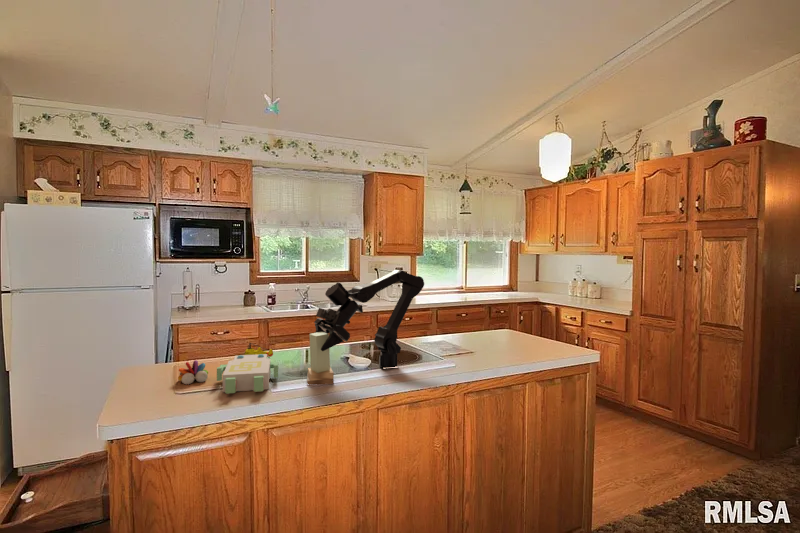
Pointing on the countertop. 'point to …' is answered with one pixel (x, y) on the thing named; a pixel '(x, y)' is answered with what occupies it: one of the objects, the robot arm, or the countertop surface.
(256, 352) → the toy helicopter
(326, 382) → the lower slab
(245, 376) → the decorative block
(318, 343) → the pillar
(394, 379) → the countertop surface
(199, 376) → the rainbow peg wheeled toy
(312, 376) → the upper slab
